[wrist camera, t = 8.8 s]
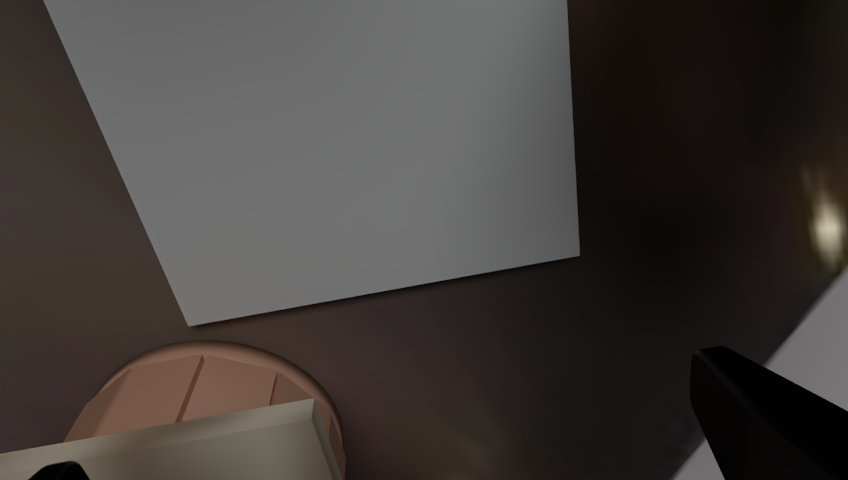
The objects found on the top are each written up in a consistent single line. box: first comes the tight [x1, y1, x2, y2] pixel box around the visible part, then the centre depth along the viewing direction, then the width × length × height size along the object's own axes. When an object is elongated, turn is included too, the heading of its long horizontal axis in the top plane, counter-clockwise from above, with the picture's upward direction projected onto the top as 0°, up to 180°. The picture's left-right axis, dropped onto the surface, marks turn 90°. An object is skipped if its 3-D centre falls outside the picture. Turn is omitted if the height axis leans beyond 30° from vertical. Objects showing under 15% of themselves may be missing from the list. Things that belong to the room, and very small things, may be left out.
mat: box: [43, 0, 580, 326], centre depth 18 cm, size 14×14×1 cm
